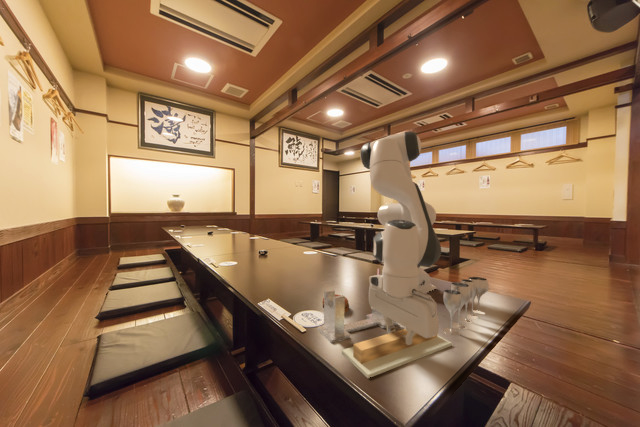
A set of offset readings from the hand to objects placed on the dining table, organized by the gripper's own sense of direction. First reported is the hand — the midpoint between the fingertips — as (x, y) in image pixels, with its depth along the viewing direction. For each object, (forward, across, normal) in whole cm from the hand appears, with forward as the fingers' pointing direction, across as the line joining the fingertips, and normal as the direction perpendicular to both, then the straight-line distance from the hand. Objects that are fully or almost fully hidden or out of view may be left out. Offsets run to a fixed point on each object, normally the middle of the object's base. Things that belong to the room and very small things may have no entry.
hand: (398, 338), depth 62 cm
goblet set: (+3, +2, -32) cm, 33 cm away
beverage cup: (+3, +24, -14) cm, 28 cm away
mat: (+3, 0, 0) cm, 3 cm away
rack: (+3, +14, +2) cm, 14 cm away
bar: (+2, 0, 0) cm, 2 cm away
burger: (+3, +28, +1) cm, 29 cm away
